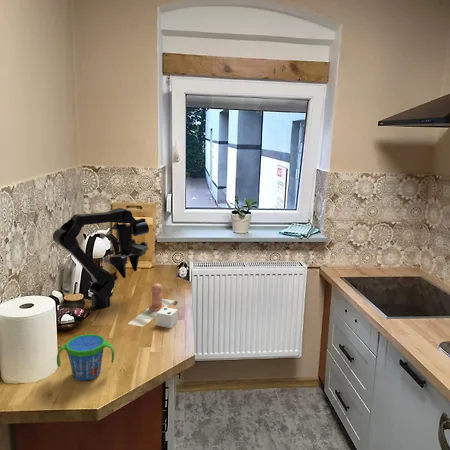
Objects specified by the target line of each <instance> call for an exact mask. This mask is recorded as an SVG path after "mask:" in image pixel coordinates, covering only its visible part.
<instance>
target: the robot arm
mask: <svg viewBox="0 0 450 450" xmlns="http://www.w3.org/2000/svg"><path fill="white" fill-rule="evenodd" d="M105 223H114V224H113V225H112V227H111V230H115V231H116V234H117V241H116V246H117V245H118V247H119V250H118V251H117V254H114V255H112V256H111V257H110V258H108V259H109V264H111V266H114V268H115V269H116V270H117V271H118V273H119V274H120V275H121V277H122V278H123V279H126V278H127V268H126V266H127V264H128V263H129V262H130V264H131V267H132V270H133V271H134V272H137V270H138V265H139V261H140V260H139V259H140V258H141V257H143V256H144V255H146V254H147V251H148V249H149V248H148V243H147V242H146V241H141V243H136V240H135V238H134V239H133V236H134V237H138V236H142V235H146V234H148V233H149V231H150V226H149V225H148V222H147V221H146V218H145V217H144V218H143V217H142V218H139V219H136V218H135V217H134V216H133V213H132V211H131V210H129V209H126V208H122V207H117V208H114V209H111V210H109V211H106V212H105V211H104V212H96V213H95V212H94V213H93V212H92V213H91V212H90V213H83V214H79V213H76V214H73V215H72V217H70V219H69V220H67V221H66V222H64V223H63V224H62V225H61V226H60V228H58V229H56V230H55V231H54V232H53V234H52V240H53V241H54V242H55V244H57V245H58V246H60V247H61V248H63V249H64V250H66V251H67V252H69V253H70V255H72V257H73V258H74V259H75V260H76V262H78V263H79V264H80V266H82V267H83V269H85V271H86V272H87V273H88V274H89V276H90V277H91V280H92V283H91V285H90V286H89V287H88V289H89V293H92V294H91V297H90V298H91V300H90V301H91V306H89V309H91V310H92V311H94V312H95V311H99V310H103V309H106V308H110V306H111V295H112V292H113V289H114V287H115V285H116V281H115V277H114V276H112V275H111V272H109V271H108V270H106V269H104V268H101V269H100V268H99V267H98V266H97V265H96V263H95V262H93V260H92V259H91V258H90V257H89V255H87V253H86V252H85V251H84V250H83V249H82V247H80V244H79V242H78V239H77V237H78V236H79V235H80V233H81V231H82V228H83V227H84V226H87V225H88V226H89V225H96V224H105ZM128 260H129V261H128Z"/></svg>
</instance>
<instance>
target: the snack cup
mask: <svg viewBox="0 0 450 450" xmlns="http://www.w3.org/2000/svg"><path fill="white" fill-rule="evenodd" d="M105 348H108V349H110V351H111V364H113V363H114V360H115V348H114V347H113V345H112V344H111V343H110V342H109V341H107V340H105V338H104V337H103V336H102V335H100V334H94V333H90V334H89V333H88V334H87V333H86V334H82V335H78V336H74V337H73V338H70V339H69V340H68V341H67V342H66V343H64V344H63V345H62V346H61V347H60V348H59V349H58V352H57V354H56V365H57V367H59V368H60V367H61V364H62V362H61V357H60V353H61V352H62V351H64V350H65V351H66V353H67V356H68V359H69V365H70V368H71V374H72V376H73V378H74V379H75V380H77V381H78V382H81V381H82V382H85V381H90V380H91V381H92V380H94V379H95V378H96V377H98V376H99V375H100V374H101V370H102V362H103V357H104V349H105Z"/></svg>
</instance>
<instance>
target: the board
mask: <svg viewBox="0 0 450 450" xmlns="http://www.w3.org/2000/svg"><path fill="white" fill-rule="evenodd" d="M162 304H163V305H164V307H166V308H168V307H169V306H170V305H172V306H177V304H178V301H177V300H173V299H166V298H162ZM157 312H158V311H152V310H150V309H149V307H148V308H146V309H145V310H144V311H142V312H141V313H139V314H138V315H137V316H135V317H134V318H133V319H132V320H130V321H129V322H128V323H127V325H131V326H132V325H133V326H137V327H142V328H144V327H145V326H146V325H147V324H149V323H150V322H151V321H152V320H154V319H156V313H157Z"/></svg>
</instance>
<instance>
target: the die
mask: <svg viewBox="0 0 450 450" xmlns="http://www.w3.org/2000/svg"><path fill="white" fill-rule="evenodd" d="M178 315H179V309H177V308H171V307H167V308H166V307H163V308H162V309H160V310H159V311H158V312H157V313H156V317H155V326H156V327H162V328H168V329H172V328H173V327H174V326H175V325H176V324H177V323H178V321H179V319H178V317H179V316H178Z"/></svg>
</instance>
